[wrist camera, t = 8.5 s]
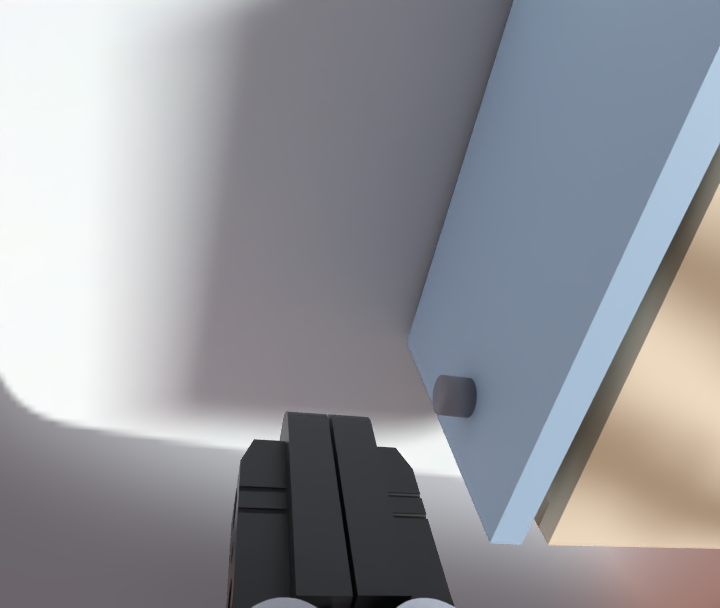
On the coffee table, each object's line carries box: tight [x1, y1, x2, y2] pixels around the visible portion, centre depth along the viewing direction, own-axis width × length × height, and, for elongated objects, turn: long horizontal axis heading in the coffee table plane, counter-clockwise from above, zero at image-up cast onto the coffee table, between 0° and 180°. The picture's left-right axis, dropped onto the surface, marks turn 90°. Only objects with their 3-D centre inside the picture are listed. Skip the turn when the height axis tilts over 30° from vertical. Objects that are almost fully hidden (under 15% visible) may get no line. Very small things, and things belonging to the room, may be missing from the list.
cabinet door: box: [407, 0, 720, 545], centre depth 22 cm, size 21×2×13 cm, turn 166°
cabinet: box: [534, 144, 720, 549], centre depth 24 cm, size 20×12×14 cm, turn 169°
